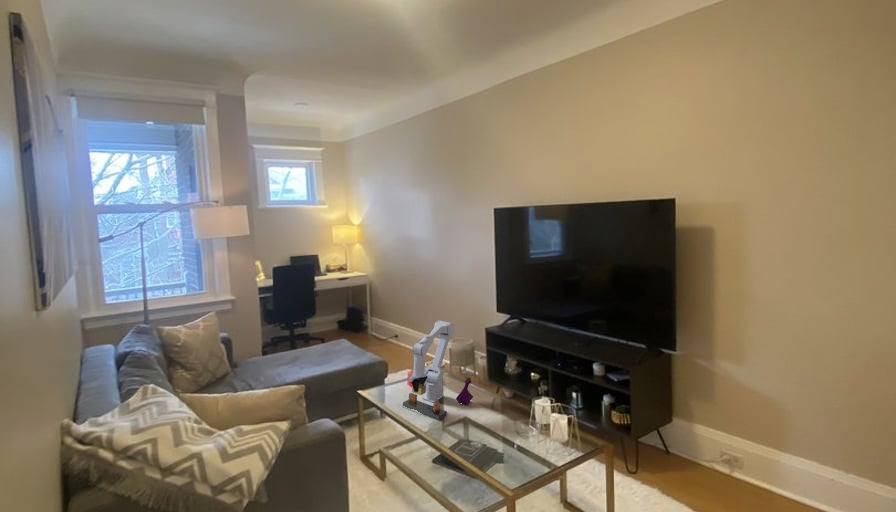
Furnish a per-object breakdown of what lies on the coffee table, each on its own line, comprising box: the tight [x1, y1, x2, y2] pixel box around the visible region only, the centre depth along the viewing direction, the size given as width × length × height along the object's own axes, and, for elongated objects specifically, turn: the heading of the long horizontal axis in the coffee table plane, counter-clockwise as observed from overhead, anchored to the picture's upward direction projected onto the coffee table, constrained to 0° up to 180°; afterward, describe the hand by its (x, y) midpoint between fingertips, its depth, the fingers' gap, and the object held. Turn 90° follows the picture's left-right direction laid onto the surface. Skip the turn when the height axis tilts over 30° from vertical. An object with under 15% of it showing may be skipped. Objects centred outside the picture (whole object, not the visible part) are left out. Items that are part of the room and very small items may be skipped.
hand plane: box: [402, 392, 448, 421], centre depth 249 cm, size 7×24×7 cm, turn 55°
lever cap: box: [411, 384, 426, 396], centre depth 251 cm, size 4×6×4 cm, turn 56°
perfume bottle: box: [455, 371, 474, 405], centre depth 260 cm, size 8×8×18 cm
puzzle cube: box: [406, 370, 426, 388], centre depth 282 cm, size 8×8×8 cm
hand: (418, 390), depth 251 cm, fingers closed on lever cap, 4 cm apart
